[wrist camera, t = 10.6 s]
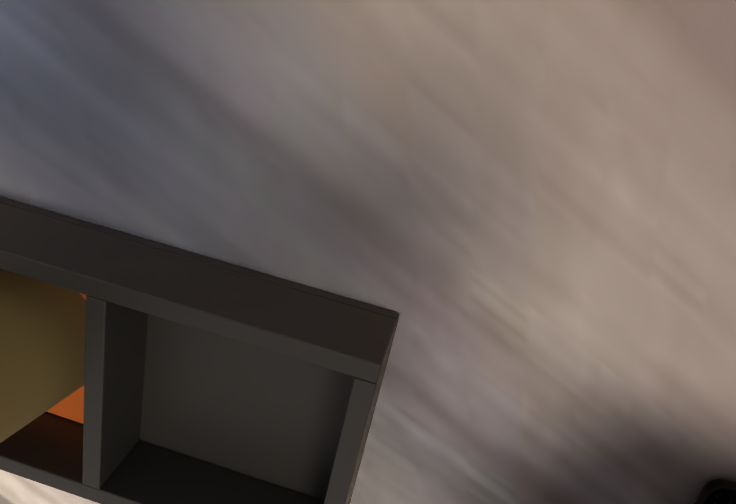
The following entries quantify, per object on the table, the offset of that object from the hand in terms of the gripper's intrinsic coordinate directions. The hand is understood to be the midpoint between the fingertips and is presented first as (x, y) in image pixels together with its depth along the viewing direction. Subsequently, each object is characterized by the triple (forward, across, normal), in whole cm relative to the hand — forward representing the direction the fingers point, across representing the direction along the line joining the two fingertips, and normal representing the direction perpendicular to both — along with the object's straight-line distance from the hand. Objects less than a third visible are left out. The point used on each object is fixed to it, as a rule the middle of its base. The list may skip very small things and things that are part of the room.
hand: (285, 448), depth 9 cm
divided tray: (+12, +8, +9) cm, 17 cm away
